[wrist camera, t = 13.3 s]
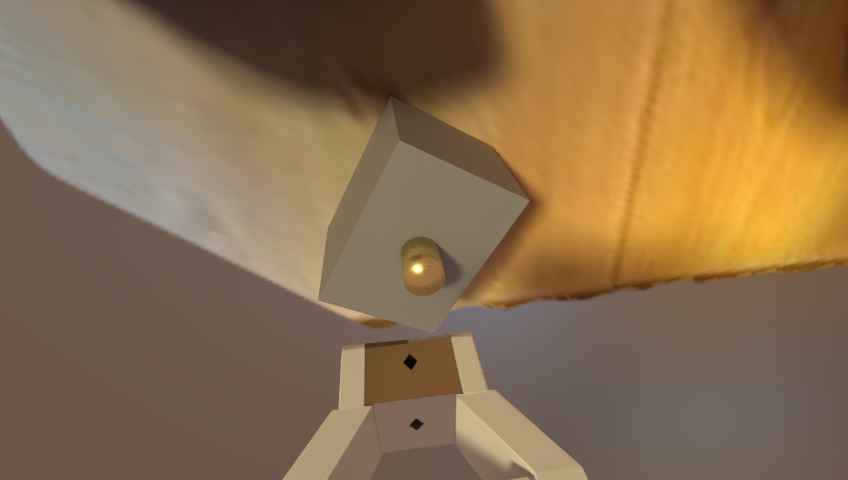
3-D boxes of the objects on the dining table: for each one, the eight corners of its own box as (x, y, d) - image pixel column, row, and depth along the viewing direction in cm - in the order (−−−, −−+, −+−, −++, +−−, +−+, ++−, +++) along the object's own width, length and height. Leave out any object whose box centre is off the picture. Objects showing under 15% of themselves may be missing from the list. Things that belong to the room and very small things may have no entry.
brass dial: (438, 234, 37) (445, 261, 34) (438, 265, 39) (445, 293, 36) (399, 238, 37) (402, 265, 34) (401, 269, 39) (404, 298, 36)
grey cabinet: (492, 146, 47) (529, 200, 36) (420, 261, 55) (433, 333, 44) (390, 95, 42) (399, 140, 32) (327, 228, 50) (318, 300, 40)
